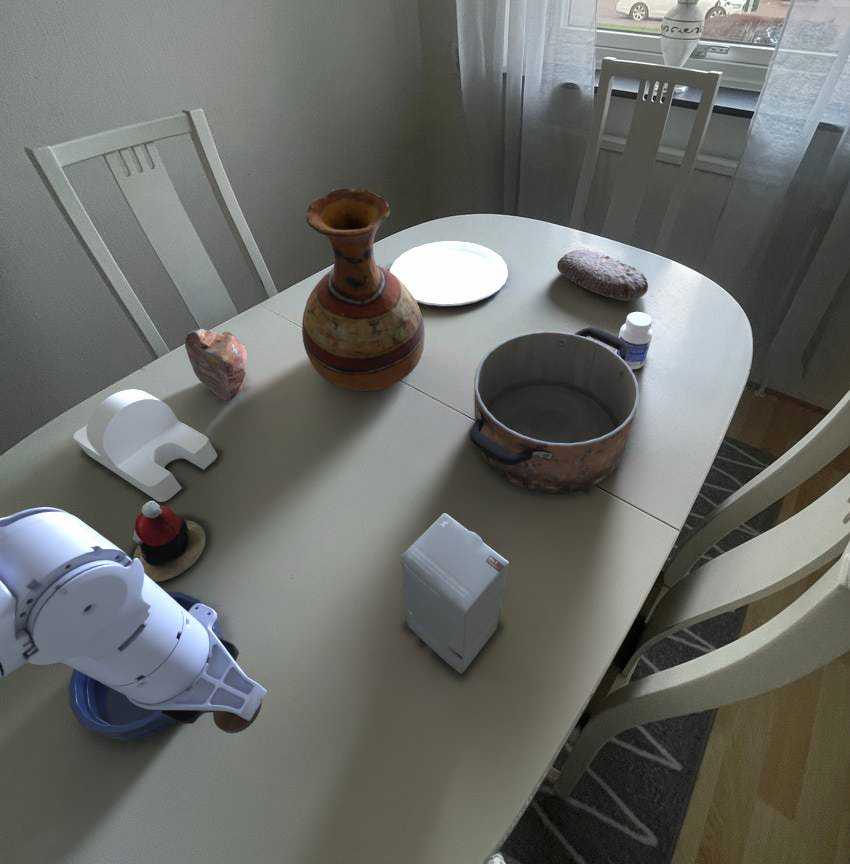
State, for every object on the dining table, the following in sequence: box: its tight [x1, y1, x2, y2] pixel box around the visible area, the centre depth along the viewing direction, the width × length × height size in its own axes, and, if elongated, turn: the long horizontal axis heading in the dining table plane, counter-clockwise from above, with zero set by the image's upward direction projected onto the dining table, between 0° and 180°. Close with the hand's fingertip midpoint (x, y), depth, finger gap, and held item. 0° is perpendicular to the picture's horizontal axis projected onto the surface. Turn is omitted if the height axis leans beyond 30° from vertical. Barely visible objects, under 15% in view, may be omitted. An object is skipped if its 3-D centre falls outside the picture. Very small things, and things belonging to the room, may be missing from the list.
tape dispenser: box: [73, 389, 218, 503], centre depth 72 cm, size 10×18×11 cm, turn 60°
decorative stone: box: [556, 249, 649, 301], centre depth 105 cm, size 20×14×5 cm
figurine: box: [132, 500, 206, 583], centre depth 62 cm, size 8×10×12 cm
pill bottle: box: [614, 311, 653, 370], centre depth 87 cm, size 5×5×9 cm
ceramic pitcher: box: [301, 187, 425, 392], centre depth 79 cm, size 20×20×30 cm
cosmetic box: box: [400, 513, 510, 674], centre depth 52 cm, size 8×7×16 cm
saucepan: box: [469, 326, 640, 494], centre depth 74 cm, size 30×22×11 cm
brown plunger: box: [212, 700, 263, 734], centre depth 44 cm, size 4×4×10 cm
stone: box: [184, 328, 248, 402], centre depth 83 cm, size 13×8×10 cm
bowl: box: [68, 591, 224, 742], centre depth 54 cm, size 13×13×4 cm
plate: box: [389, 240, 509, 308], centre depth 109 cm, size 25×25×1 cm
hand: (216, 692), depth 44 cm, fingers closed on brown plunger
